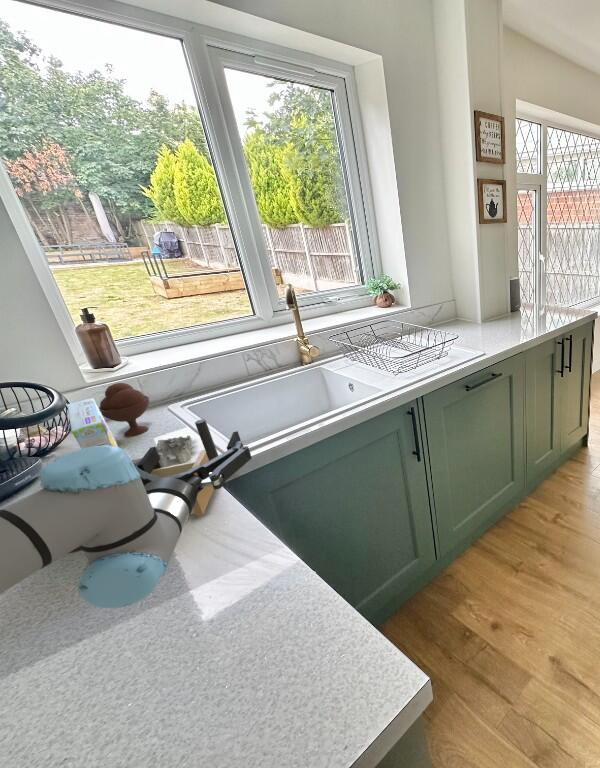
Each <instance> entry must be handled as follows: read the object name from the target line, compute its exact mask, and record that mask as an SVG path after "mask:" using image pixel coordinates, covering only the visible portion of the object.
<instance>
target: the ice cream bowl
mask: <svg viewBox="0 0 600 768" xmlns="http://www.w3.org/2000/svg"><path fill="white" fill-rule="evenodd" d="M104 396H105V397H104V398H103V399H102V400H101V401H100V403H99V406H98V408H99V410H100V412H101V414H102V416H103V417H104V418H106V419H109V420H111V421H114V422H118V423H119V422H121V423H122V422H123V423H124V422H126V423H127V424H128V426H129V428H128V429H126V430H125V432H124V433H123V436H124V437H127V438H129V437H135V436H140V435H143V434H145V433H146V432H148V430H149V427H147V426H146V425H138V423H137V419H139V418H140V417H141V416H142V415H144V414H145V412H146V410H147V409H148V407H149V405H150V398H149V397H150V396H148V395H145V394H144V393H143V392H142V391H140V390H138V389H135V388H134V387H133V386H132V385H131V384H128V383H125V382H115V383H113V384H111V385H108V386H107V388H106V390H105V392H104Z"/></svg>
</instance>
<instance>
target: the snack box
mask: <svg viewBox="0 0 600 768" xmlns="http://www.w3.org/2000/svg"><path fill="white" fill-rule="evenodd" d="M67 411H68V419H69V423H70V429H71V430H70V431H71V433H72V435H73V436H74V438H75V440H76V442H77V444H78V445H79V447H80V450H81V449H84V448H89V447H94V446H103V445H109V446H113V447H119V445H118V443H117V441H116V439H115V437H114V435H113V432H112V431H111V429H110V427H109V425H108V423H107V422H106V420H105V417H104V416H103V415H102V414H101V412H100V410H99V406H98V404H97V402H96V400H95V398H94V397H91V398H87V399H83V400H79V401H75V402H71V403H68V404H67Z"/></svg>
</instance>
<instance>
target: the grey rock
mask: <svg viewBox="0 0 600 768" xmlns="http://www.w3.org/2000/svg"><path fill="white" fill-rule="evenodd" d="M155 447H156V449H157V452H158V454H159V456H160V460H161V462H162V465H163V467H169V466H173V465H175V464H178V463H179V464H184V463H187V462H188V461H189V460H191V459H192V453H193V451H192V449H193V448H194V445H193V443H192V437H191V435H186V437H183V436H182V435H181V436H179V437H173V438H168V439H158V440H157V444H156V445H155ZM192 447H193V448H192ZM190 453H191V454H190Z"/></svg>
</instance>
